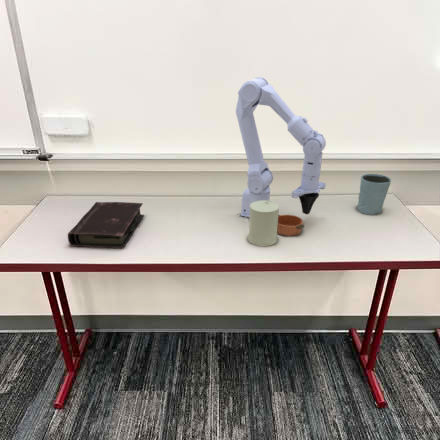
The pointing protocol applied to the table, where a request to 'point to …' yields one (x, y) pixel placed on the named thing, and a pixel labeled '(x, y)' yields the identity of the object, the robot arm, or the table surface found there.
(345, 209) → the table surface
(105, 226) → the diary
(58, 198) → the table surface
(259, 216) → the can
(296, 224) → the pan
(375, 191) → the grey cylinder
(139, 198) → the table surface
